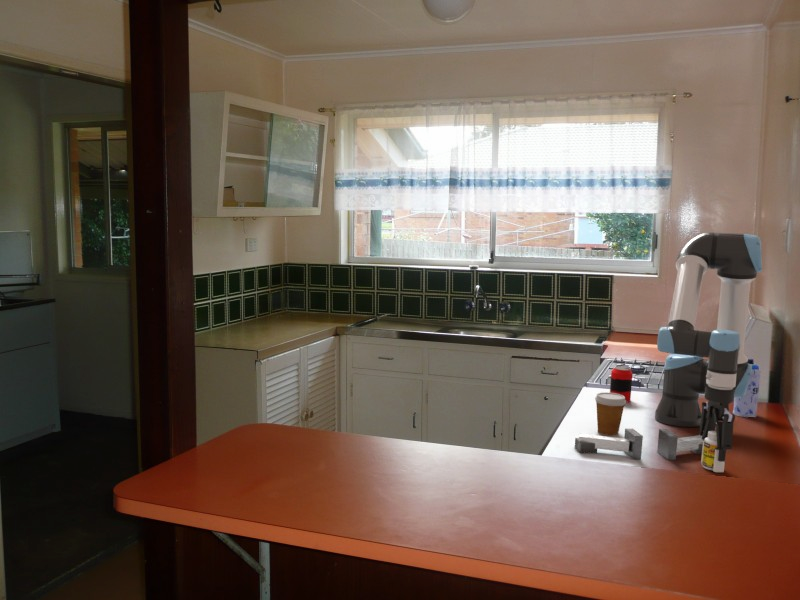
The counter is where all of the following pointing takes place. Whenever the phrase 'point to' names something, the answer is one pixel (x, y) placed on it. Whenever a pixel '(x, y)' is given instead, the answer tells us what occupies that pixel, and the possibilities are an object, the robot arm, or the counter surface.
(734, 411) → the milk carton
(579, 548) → the counter surface
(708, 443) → the supplement bottle
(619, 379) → the soda can
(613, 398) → the disposable coffee cup
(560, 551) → the counter surface
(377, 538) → the counter surface
